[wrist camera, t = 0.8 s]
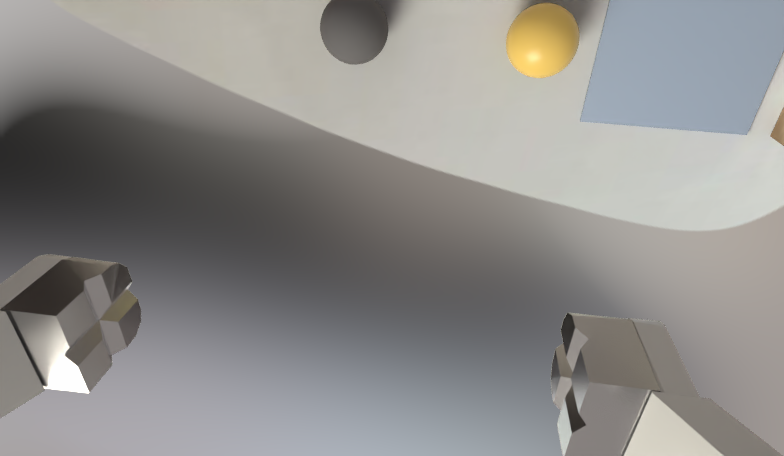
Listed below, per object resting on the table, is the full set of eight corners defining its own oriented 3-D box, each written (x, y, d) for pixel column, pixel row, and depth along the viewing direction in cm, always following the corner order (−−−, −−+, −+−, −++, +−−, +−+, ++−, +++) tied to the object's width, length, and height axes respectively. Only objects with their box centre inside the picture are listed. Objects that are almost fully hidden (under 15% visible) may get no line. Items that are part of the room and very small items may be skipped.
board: (624, -60, 37) (625, -60, 37) (826, -51, 36) (827, -51, 36) (580, 120, 44) (580, 121, 44) (745, 134, 43) (746, 134, 43)
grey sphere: (328, -14, 42) (310, -6, 37) (393, -11, 41) (383, -2, 36) (330, 53, 45) (313, 69, 40) (391, 58, 44) (381, 74, 39)
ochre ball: (510, -4, 40) (514, 6, 35) (580, 0, 40) (594, 11, 35) (499, 66, 43) (502, 83, 38) (564, 70, 42) (575, 88, 38)
